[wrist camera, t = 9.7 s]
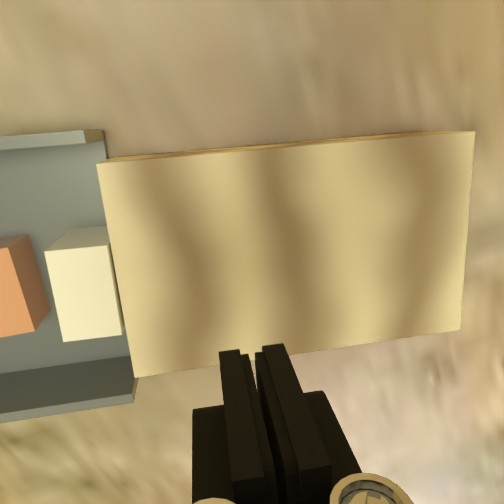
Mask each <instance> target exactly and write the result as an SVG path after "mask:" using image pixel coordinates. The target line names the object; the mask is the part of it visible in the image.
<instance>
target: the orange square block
mask: <svg viewBox="0 0 504 504" xmlns="http://www.w3.org/2000/svg"><path fill="white" fill-rule="evenodd" d="M50 310H51V308H50V304H49V301H48V298H47V294H46V291H45V288H44V285H43V281H42V278H41V275H40V271H39V268H38V265H37V262H36V258H35V255H34V252H33V249H32V245H31V242H30V239H29V235H28V234H26V235H20V236H14V237H7V238H1V239H0V338H1V337H6V336H12V335H17V334H23V333H28V332H34V331H36V329H37V328H38V327H39V325H40V324H41V323H42V321H43V320H44V318H45V317H46V316H47V314H48V313H49V312H50Z"/></svg>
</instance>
